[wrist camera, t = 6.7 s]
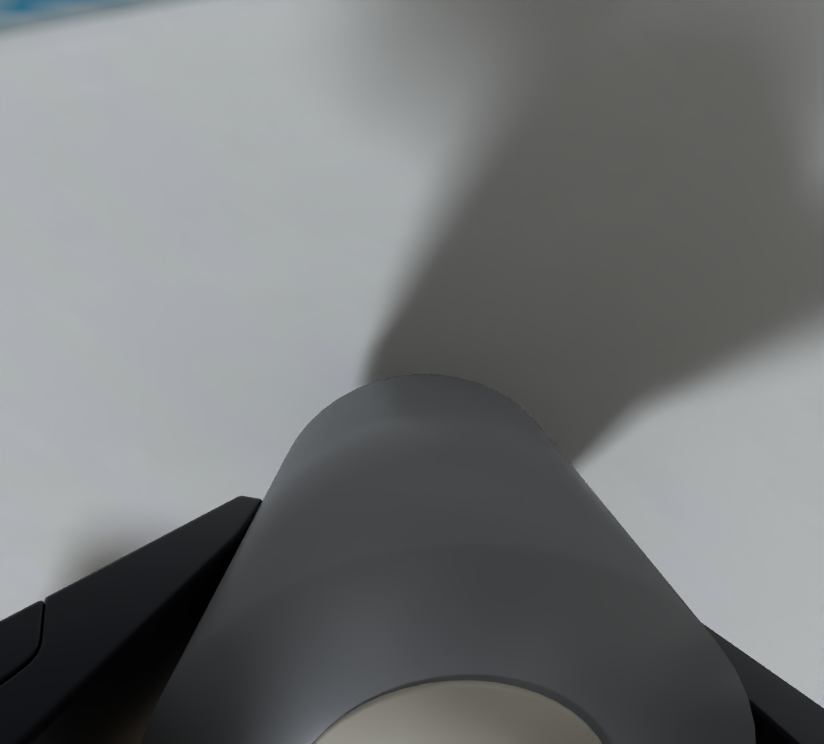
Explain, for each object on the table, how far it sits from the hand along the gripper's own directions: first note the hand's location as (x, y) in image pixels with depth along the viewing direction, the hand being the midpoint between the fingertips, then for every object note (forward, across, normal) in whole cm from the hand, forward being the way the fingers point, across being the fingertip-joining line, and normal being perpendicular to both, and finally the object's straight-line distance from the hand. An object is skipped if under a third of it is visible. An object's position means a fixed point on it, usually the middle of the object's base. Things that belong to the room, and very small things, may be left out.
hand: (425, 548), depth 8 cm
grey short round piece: (+1, 0, 0) cm, 1 cm away
